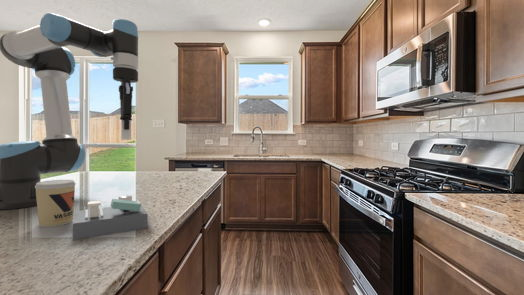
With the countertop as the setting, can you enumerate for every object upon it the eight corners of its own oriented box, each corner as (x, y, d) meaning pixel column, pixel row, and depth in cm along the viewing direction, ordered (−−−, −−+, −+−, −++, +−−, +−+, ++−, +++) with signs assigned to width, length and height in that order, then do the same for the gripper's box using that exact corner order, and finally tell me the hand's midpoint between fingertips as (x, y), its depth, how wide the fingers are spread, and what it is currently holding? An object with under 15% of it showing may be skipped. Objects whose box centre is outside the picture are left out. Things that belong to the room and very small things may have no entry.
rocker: (110, 205, 74) (112, 197, 74) (137, 207, 78) (139, 200, 78) (111, 208, 71) (113, 200, 71) (139, 210, 74) (141, 203, 74)
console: (75, 225, 76) (75, 208, 76) (140, 216, 85) (140, 201, 85) (72, 239, 65) (72, 220, 65) (147, 227, 74) (147, 210, 74)
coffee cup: (54, 229, 72) (53, 185, 72) (26, 226, 74) (25, 183, 74) (83, 219, 82) (83, 180, 81) (58, 217, 83) (57, 178, 83)
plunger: (118, 206, 80) (118, 196, 80) (131, 204, 82) (131, 195, 82) (119, 208, 77) (119, 198, 77) (132, 207, 79) (132, 197, 79)
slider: (87, 215, 71) (87, 201, 71) (100, 213, 72) (100, 200, 72) (87, 218, 68) (87, 204, 68) (100, 216, 70) (100, 203, 70)
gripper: (111, 71, 92) (112, 139, 93) (114, 62, 82) (115, 139, 82) (135, 74, 97) (135, 139, 97) (141, 66, 86) (141, 139, 86)
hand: (126, 139), depth 90 cm, fingers closed
